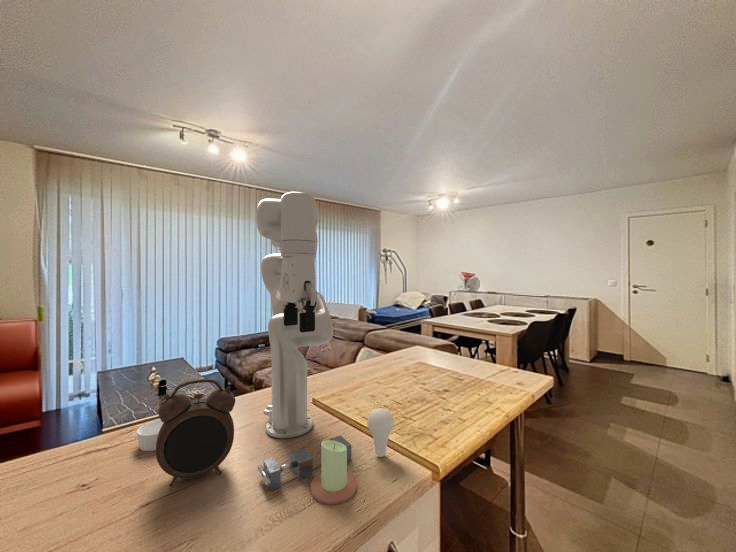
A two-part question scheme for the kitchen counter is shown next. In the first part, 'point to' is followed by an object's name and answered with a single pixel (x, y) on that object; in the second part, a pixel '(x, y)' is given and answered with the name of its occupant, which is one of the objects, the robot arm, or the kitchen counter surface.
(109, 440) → the kitchen counter surface
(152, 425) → the ramekin
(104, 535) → the kitchen counter surface
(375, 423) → the lightbulb
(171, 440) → the alarm clock
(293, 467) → the vise
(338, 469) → the candle
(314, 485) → the coaster
